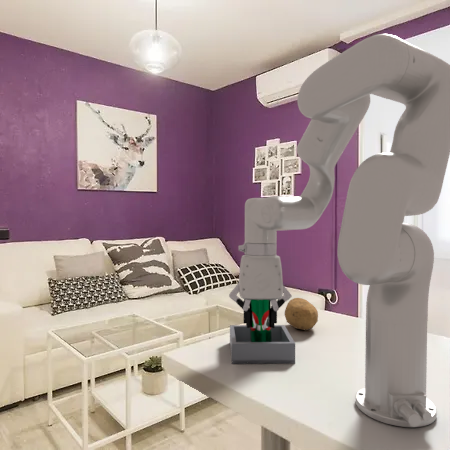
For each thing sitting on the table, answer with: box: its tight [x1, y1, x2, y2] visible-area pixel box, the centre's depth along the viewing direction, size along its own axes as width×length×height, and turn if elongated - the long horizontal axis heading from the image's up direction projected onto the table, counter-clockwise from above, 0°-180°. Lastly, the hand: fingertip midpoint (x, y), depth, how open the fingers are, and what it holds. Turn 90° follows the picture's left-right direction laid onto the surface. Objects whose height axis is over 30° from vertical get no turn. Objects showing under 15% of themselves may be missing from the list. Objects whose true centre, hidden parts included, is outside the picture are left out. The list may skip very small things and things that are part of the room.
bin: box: [229, 324, 296, 365], centre depth 93 cm, size 14×14×4 cm
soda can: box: [249, 299, 272, 342], centre depth 93 cm, size 5×5×12 cm
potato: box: [284, 297, 319, 331], centre depth 112 cm, size 10×14×8 cm
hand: (260, 325), depth 93 cm, fingers closed on soda can, 5 cm apart
